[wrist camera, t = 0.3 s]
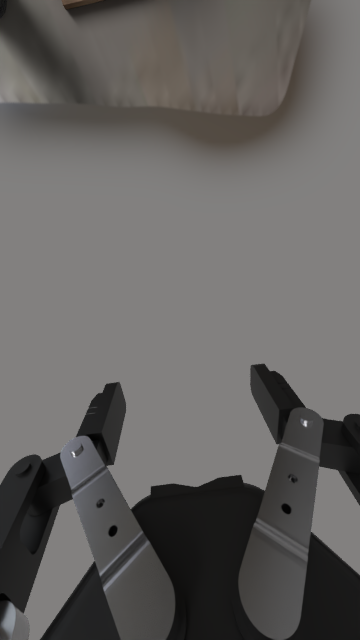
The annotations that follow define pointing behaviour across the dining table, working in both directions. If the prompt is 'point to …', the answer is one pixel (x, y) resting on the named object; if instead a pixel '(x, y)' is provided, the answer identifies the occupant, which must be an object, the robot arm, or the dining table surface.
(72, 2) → the nut base
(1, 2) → the steel pin
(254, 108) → the dining table surface
